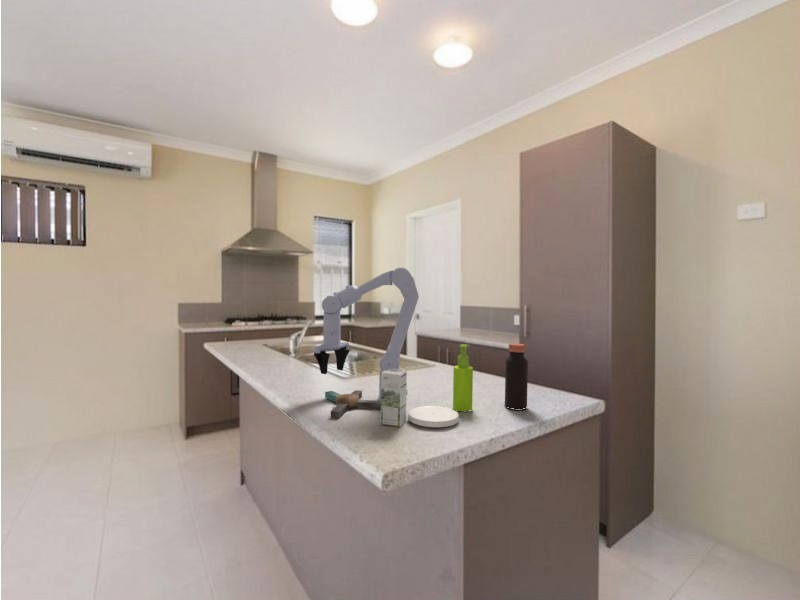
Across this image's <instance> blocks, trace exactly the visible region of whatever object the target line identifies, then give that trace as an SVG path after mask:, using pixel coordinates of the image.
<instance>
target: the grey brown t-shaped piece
mask: <svg viewBox="0 0 800 600" xmlns="http://www.w3.org/2000/svg"><path fill="white" fill-rule="evenodd" d="M362 397H363V391H362V390H353V392H351V393H342V394H341V395H338V396H337V397H336V402H335V403H336V406H334V407H333V408H332V409H331V410H330V419H334V418H337V419H338V420H339V419H341V418H342V417H343V416H344V415H345V414H346V413H347V412H348V411H350V410H351V411H352V410H355V409H361V410H362V409H365V410H379V411H381V401H377V400H374V399H373V400H371V399H369V400H368V399H361V398H362ZM344 413H345V414H344ZM337 419H336V420H337Z"/></svg>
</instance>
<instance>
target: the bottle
mask: <svg viewBox="0 0 800 600" xmlns="http://www.w3.org/2000/svg"><path fill="white" fill-rule="evenodd" d="M508 353H509V356H508V357H507V358H506V359H505V367H504V368H505V373H504V374H505V377H504V379H505V381H504V382H505V383H504V407H505V406H506V407H509V408H514V409H523V408H526V407H527V408H528V380H529V379H528V377H529V376H528V375H529V374H528V372H529V369H528V368H529V367H528V366H529V361H528V359H527V358H526V357H525V353H526V345H525V344H523V343H509V344H508ZM506 407H505V408H506Z"/></svg>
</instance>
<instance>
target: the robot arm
mask: <svg viewBox="0 0 800 600" xmlns="http://www.w3.org/2000/svg"><path fill="white" fill-rule="evenodd" d="M393 284H394V286H395V287H396V288H398V290H399V291H400V293H401V295H402V297H403V302H402V305H401V308H400V310H399V313H398V317H397V320H396V323H395V325H394V329H393V331H392V335H391V338H390V341H389V344H388V346H387V349H386V351H385V353H384V354H383V355H382V357H381V358H380V361H379V368H380V370H379V371H378V372H379V373H378V374H379V375H378V376H379V377H378V378H379V379H378V381H379V382H378V384H379V386H378V387H379V388H378V389H379V391H378V396H377V400H376V401H381V373H382V372H383V371H384V370H386V369H395V370H401V369H400V368H399V367H400V363H401V356H400V355H401V351H402V348H403V346H404V343H405V340H406V337H407V334H408V332H409V329H410V324H411V322H412V319H413V315H414V312H415V311H416V308H417V307H416V306H417V304H418V301H419V295H420V294H419V293H418V289H417V286H416V282H415V279H414V277H413V276H412V274H411V272H410V271H409V270H408V269H407V268H405V267H397V268H395V269H394V270H389V271H386V272H383V273H381V274H379V275H377V276H376V277H374V278H371V279H370V280H368V281H366V282H364V283H363V284H360V285H354V284H352V285H349V284H348V285H345V288H344V289H342V290H339V291H338V292H337V291H335V292H333V293H332V294H333V295H327V296H326V297H324V298H323V300H322V301H321V308H322V310H323V330H322V331H323V343H322V344H320V345H317V346H313V356H314V358H315V359H316V361H317V364H318V366H319V367H318V368H319V370H320V371H319V372H320V374H321V375H322V374H323V375H327V373H328V368H329V367H328V363H329V359H330V355H331V354H330V353H327V352H330V351H333V352H334V354H335V359H336V370H338V371H344V368H345V367H344V366H345V363H346V359H347V357H348V356H349V354H350V349H349V348H350V343H349V342H344V341H343V342H342V341H341V339H342V338H341V336H342V335H341V334H342V333H341V332H342V331H341V330H342V329H341V328H342V327H341V326H342V325H341V324H342V323H341V322H342V321H341V319H342V318H341V311H342V309H346V308H347V307H349V306H352V305H354V304H357V303H358V302H360V301H361V300H362V297H363V295H365V294H367V293H369V292H371V291H374V290H376V289H378V288H380V287H382V286H393ZM407 386H408V385H407ZM407 386H406V396H408V389H407Z"/></svg>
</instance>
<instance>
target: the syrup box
mask: <svg viewBox="0 0 800 600" xmlns="http://www.w3.org/2000/svg"><path fill="white" fill-rule="evenodd" d="M407 372H408V371H407V370H404V369H400V370H395V369H386V370H384V371H383V372H382V373H381V410H380V425H381V426H389V427H394V428H395V427H396V428H400V427H402V426H403V425H404V423H406V422H407V395H406V386H408V383H407V382H408V381H407V380H408V378H407V377H408V376H407V375H408V374H407Z"/></svg>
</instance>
